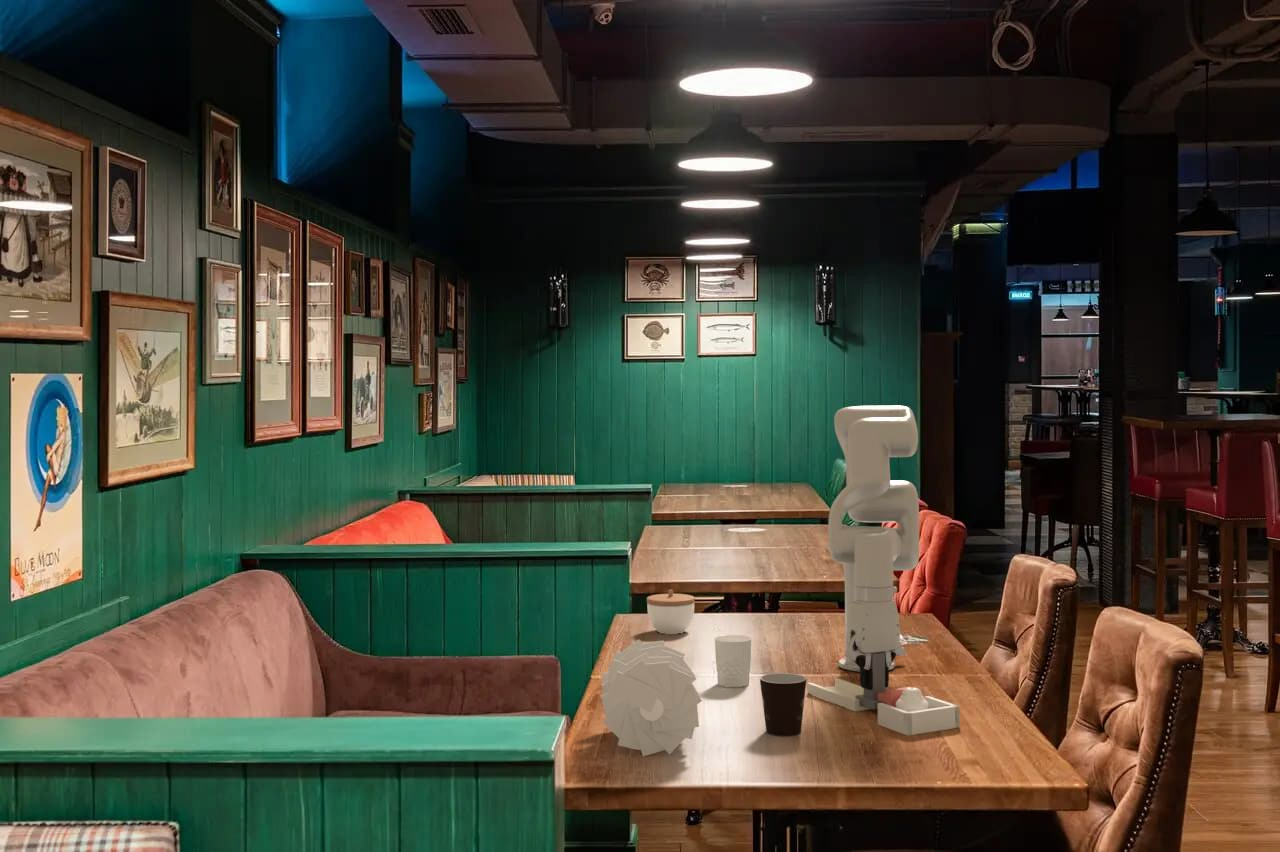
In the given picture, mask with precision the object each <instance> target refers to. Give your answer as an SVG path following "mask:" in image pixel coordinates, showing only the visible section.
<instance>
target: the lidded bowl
mask: <svg viewBox="0 0 1280 852" xmlns="http://www.w3.org/2000/svg"><path fill="white" fill-rule="evenodd" d="M695 602H696V601H695V596H693V595H690V594H686V593H685V594H684V593H674V590H673V589H668V592H667V593H659V594H651V595H649V596H647V597H646V603H647V616H648V620H649V622H650V624H651V626H652V627H653V628H654V629H655V630H656V631H658V632H660V633H659V634H661V633H666V634H665V635H679V634H678V633H681V634H684V633H685V631H686V630H687V629H688V628H689V627H690V625H691V623H692V622H693V619H694V614H695ZM658 632H657V633H658ZM683 632H684V633H683Z"/></svg>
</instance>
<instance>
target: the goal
mask: <svg viewBox="0 0 1280 852" xmlns="http://www.w3.org/2000/svg"><path fill="white" fill-rule="evenodd" d="M923 697H924V699H925V700H926V701H927V702H928V704H929V707H928V709H925V710H919V711H912V712H907V711H904V710H901V709H898V708H895V707H893V706H890V705H887V704H884V703H878V709H877V725H878V726H881V727H883V728H887V729H889V730H891V731H893V732H897V733H899V734H903V735H905V736H914V735H919V734H920V735H921V734H927V733H933V732H939V731H945V730H951V729H957V728H960V705H957V704H954V703H952V702H948V701H945V700H941V699H939V698H936V697H932V696H930V695H928V696H923Z"/></svg>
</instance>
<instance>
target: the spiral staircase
mask: <svg viewBox="0 0 1280 852" xmlns="http://www.w3.org/2000/svg"><path fill="white" fill-rule="evenodd" d="M685 655H686V653H685V652H682V651H680V650H677V649H675V648H672V647H670V646H668V645H666V644H665V640H657V641H649V642H642V641H641V639H639V638H638V639H637V640H636V641H634V642H633V643H632V644H630V645H629V646H628V647H626V648H625V649H624V650H623V651H619V650H617V649H616V650H615V653H614V656H613V657H612V660H611V662H610V665H609V667H608V669H607V671H606V672H604V673H603V672H602V673H601V677H602V680H603V683H600V687H601V689H602V692H603V694H601V695H600V699H601V702H602V706H603V709H602V710H601V711H602V713H603V714H604V715H605V717H606V719H604V721H603V722H602V724H603V725H605V726H606V728H607V729H609V730H610V731H611V732H612V733H613V734H614V735H615V736H616V737H617V738H618V741H617V742H618V743H617V746H619V747H624V748H628V749H632V750H637V751H641V754H642V757H646V756H649V755H653V754H656V753H659V752H662V751H666V752H667V753H668V754H669V755H671V754H672V753H673V752H674V750H676V748H677V747H678V746H679V745H680V744H681V743H682V742H683V741H684V740H686V739H688V740H692V739H693V735H694V731H695V728H699V727H700V724H699V721H700V720H699V712H698V705H699V704H700V703H702V701H703V700H702V699H701V695H700V694H699V692H698V691H697V689H696V687H695V686H694V684H693V683H694V682H695V681H696V680H697V678H696V675H695V673H694V672H693V670H692V669H691V668H690V666H689V665H688V664H687V662H686V661H685V660H684V658H685Z"/></svg>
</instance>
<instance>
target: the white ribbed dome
mask: <svg viewBox="0 0 1280 852" xmlns="http://www.w3.org/2000/svg"><path fill="white" fill-rule="evenodd" d="M908 687H909V688H905V689H904V690H903V692H902V693H903V694H902V695H901V697H900V698H899V699H898V700H897V701H896V708H898V709H901V710H904V711H907V712H912V711H919V710H925V709H928V707H929V704H928V702H927V701H926V700H925V699H924V697H925V696H923V693H922V691H921V690H920V689H919V688H917V687H913V686H908Z"/></svg>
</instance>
